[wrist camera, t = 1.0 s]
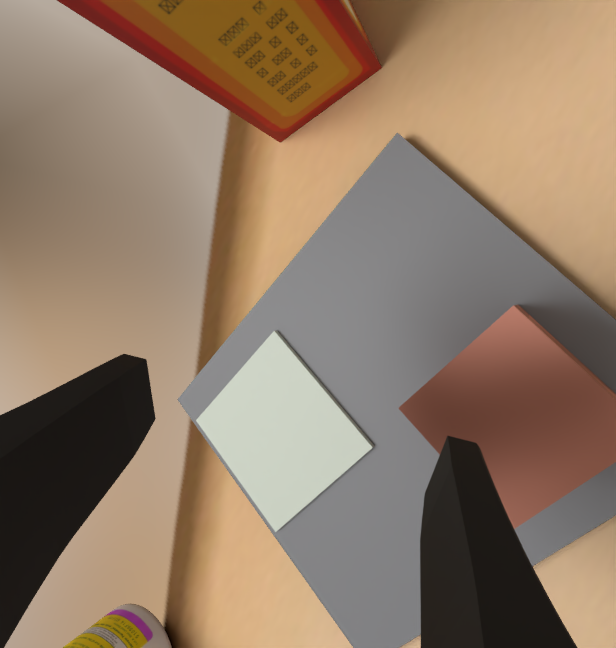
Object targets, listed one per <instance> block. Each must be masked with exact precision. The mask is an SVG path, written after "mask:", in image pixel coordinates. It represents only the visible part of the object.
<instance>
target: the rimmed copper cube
mask: <svg viewBox="0 0 616 648" xmlns="http://www.w3.org/2000/svg"><path fill="white" fill-rule="evenodd" d="M398 409H399V410H400V411H401V412H402V413H403V414H404V415H405V416H406V418H407V419H408V420H409V421H410V422H411V423H412V424H413V425H414V427H415V428H416V429H417V430H418V431H419V432H420V433H421V434H422V435H423V437H424V438H425V439H426V440H427V441H428V442H429V443H430V444H431V446H432V447H433V448H434V449H435V450H436V451H437V452H438V453H439V455H440V453H441V451H442V448H443V446H444V443H445V441H446V438H447V436H451V437H455V438H459V439H463V440H467V441H471V442H475V443H477V444H478V446H479V447H480V449H481V452H482V454H483V457H484V460H485V462H486V465H487V468H488V470H489V473H490V475H491V478H492V480H493V482H494V485H495V487H496V490H497V492H498V494H499V497H500V499H501V501H502V504H503V506H504V508H505V510H506V513H507V515H508V517H509V519H510V521H511V523H512V526H513V528H514V529H515V528H517V527H518V526H520V525H521V524H523V523H524V522H526V521H527V520H529V519H530V518H532V517H533V516H535V515H536V514H538V513H539V512H541V511H542V510H544V509H545V508H547V507H548V506H550V505H551V504H553V503H554V502H556V501H558V500H559V499H561V498H562V497H564V496H565V495H567V494H568V493H570V492H571V491H573V490H574V489H576V488H577V487H579V486H580V485H582V484H583V483H585V482H586V481H588V480H589V479H591V478H592V477H594V476H595V475H597V474H598V473H600V472H601V471H603V470H604V469H606V468H608V467H609V466H611V465H612V464H614V463H615V462H616V393H614V392H613V391H612V390H611V389H610V388H609V387H608V386H607V385H606V384H605V383H604V382H602V381H601V380H600V379H599V378H598V377H597V376H596V375H595V374H594V373H593V372H592V371H590V370H589V369H588V368H587V367H586V366H585V365H584V364H583V363H582V362H581V361H580V360H578V359H577V358H576V357H575V356H574V355H573V354H572V353H571V352H570V351H569V350H568V349H566V348H565V347H564V346H563V345H562V344H561V343H560V342H559V341H558V340H557V339H555V338H554V337H553V336H552V335H551V334H550V333H549V332H548V331H547V330H546V329H545V328H543V327H542V326H541V325H540V324H539V323H538V322H537V321H536V320H535V319H534V318H533V317H531V316H530V315H529V314H528V313H527V312H526V311H525V310H524V309H523V308H522V307H521V306H519V305H513V306H512V307H511V308H510V309H509V310H508V311H507V312H505V313H504V314H503V315H502V316H501V317H500V318H499V319H498V320H497V321H495V322H494V323H493V324H492V325H491V326H490V327H489V328H488V329H486V330H485V331H484V332H483V333H482V334H481V335H480V336H479V337H477V338H476V339H475V340H474V341H473V342H472V343H471V344H470V345H468V346H467V347H466V348H465V349H464V350H463V351H462V352H461V353H459V354H458V355H457V356H456V357H455V358H454V359H453V360H452V361H450V362H449V363H448V364H447V365H446V366H445V367H444V368H443V369H442V370H440V371H439V372H438V373H437V374H436V375H435V376H434V377H433V378H431V379H430V380H429V381H428V382H427V383H426V384H425V385H424V386H422V387H421V388H420V389H419V390H418V391H417V392H416V393H415V394H413V395H412V396H411V397H410V398H409V399H408V400H407V401H406V402H404V403H403V404H402V405H401V406H400V407H399V408H398Z"/></svg>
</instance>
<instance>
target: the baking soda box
mask: <svg viewBox="0 0 616 648" xmlns="http://www.w3.org/2000/svg"><path fill="white" fill-rule="evenodd" d="M57 1H59V2H60V3H62V4H64V5H65V6H67V7H68V8H70V9H71V10H73V11H75V12H76V13H78V14H79V15H81V16H82V17H84V18H86V19H87V20H89V21H90V22H92V23H93V24H95V25H96V26H98V27H100V28H101V29H103V30H104V31H106V32H107V33H109V34H111V35H112V36H114V37H115V38H117V39H118V40H120V41H122V42H123V43H125V44H126V45H128V46H129V47H131V48H133V49H134V50H136V51H137V52H139V53H141V54H142V55H144V56H145V57H147V58H148V59H150V60H152V61H153V62H155V63H156V64H158V65H159V66H161V67H162V68H164V69H166V70H167V71H169V72H170V73H172V74H173V75H175V76H177V77H178V78H180V79H181V80H183V81H184V82H186V83H188V84H189V85H191V86H192V87H194V88H195V89H197V90H199V91H200V92H202V93H203V94H205V95H207V96H208V97H210V98H211V99H213V100H214V101H216V102H218V103H219V104H221V105H222V106H224V107H225V108H227V109H228V110H230V111H231V112H233V113H235V114H236V115H238V116H239V117H241V118H242V119H244V120H246V121H247V122H249V123H250V124H252V125H253V126H255V127H257V128H258V129H260V130H261V131H263V132H264V133H266V134H268V135H269V136H271V137H272V138H274V139H275V140H277V141H279V142H282V141H283V140H284V139H286V138H287V137H288V136H290V135H291V134H292V133H294V132H295V131H297V130H298V129H299V128H301V127H302V126H303V125H305V124H306V123H307V122H309V121H310V120H312V119H313V118H314V117H316V116H317V115H318V114H320V113H321V112H322V111H324V110H325V109H327V108H328V107H329V106H331V105H332V104H333V103H335V102H336V101H337V100H339V99H340V98H342V97H343V96H344V95H346V94H347V93H348V92H350V91H351V90H352V89H354V88H355V87H357V86H358V85H359V84H361V83H362V82H363V81H365V80H366V79H367V78H369V77H370V76H372V75H373V74H374V73H376V72H377V71H378V70H380V69H381V68H382V67H381V65H380V63H379V61H378V58H377V56H376V54H375V52H374V50H373V48H372V46H371V44H370V41H369V39H368V37H367V35H366V33H365V31H364V29H363V27H362V24H361V22H360V20H359V18H358V16H357V14H356V12H355V9H354V7H353V5H352V3H351V1H350V0H57Z"/></svg>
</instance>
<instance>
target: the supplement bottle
mask: <svg viewBox="0 0 616 648" xmlns="http://www.w3.org/2000/svg"><path fill="white" fill-rule="evenodd" d="M63 648H172V647H171V644H170V641H169V638H168V636H167V634H166V631H165V630H164V628H163V626H162V625H161V623H160V622H159V620H158V619H157V618H156V617H155V616H154V615H153V614H152V613H151V612H150V611H148V610H147V609H145V608H144V607H141V606H139V605H135V604H125V605H122V606H119V607H117V608H116V609H114V610H113V611H112V612H110V613H109V614H107V615H106V616H104V617H103V618H102V619H100V620H99V621H98V622H97V623H95V624H94V625H92V626H91V627H90V628H88V629H87V630H86V631H84V632H83V633H82V634H81V635H79V636H78V637H76V638H75V639H74V640H72V641H71V642H70V643H68V644H67V645H66V646H64V647H63Z"/></svg>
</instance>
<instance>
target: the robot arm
mask: <svg viewBox="0 0 616 648" xmlns="http://www.w3.org/2000/svg"><path fill="white" fill-rule="evenodd" d="M154 421H155V413H154V407H153V400H152V394H151V387H150V381H149V374H148V367H147V361H146V359H143V358H139V357H134V356H131V355H127V354H123V355H120V356H118V357H116V358H114V359H112V360H110V361H108V362H106V363H104V364H102V365H100V366H98V367H96V368H94V369H92V370H90V371H88V372H87V373H84V374H83V375H81V376H79V377H77V378H75V379H73V380H71V381H69V382H67V383H66V384H63V385H61V386H59V387H57V388H56V389H54V390H52V391H50V392H48V393H46V394H44V395H42V396H40V397H38V398H36V399H34V400H32V401H30V402H28V403H26V404H24V405H21V406H19V407H17V408H15V409H13V410H11V411H9V412H7V413H5V414H2V415H0V648H4V647H5V644H6V643H7V641H8V640H9V638H10V636H11V635H12V633H13V631H14V630H15V628H16V626H17V625H18V623H19V621H20V619H21V618H22V616H23V614H24V613H25V611H26V609H27V608H28V606H29V604H30V603H31V601H32V599H33V598H34V596H35V594H36V593H37V591H38V590H39V588H40V586H41V585H42V583H43V581H44V580H45V578H46V577H47V575H48V574H49V572H50V570H51V569H52V567H53V566H54V564H55V562H56V561H57V559H58V558H59V556H60V555H61V553H62V552H63V550H64V549H65V547H66V546H67V545H68V543H69V542H70V540H71V539H72V538H73V536H74V535H75V534H76V532H77V531H78V530H79V528H80V527H81V526H82V524H83V523H84V522H85V520H86V519H87V518H88V516H89V515H90V514H91V512H92V511H93V510H94V509H95V507H96V506H97V505H98V503H99V502H100V501H101V499H102V498H103V497H104V495H105V494H106V493H107V491H108V490H109V489H110V488H111V486H112V485H113V484H114V482H115V481H116V480H117V478H118V477H119V476H120V474H121V473H122V472H123V470H124V469H125V468H126V466H127V465H128V464H129V462H130V461H131V459H132V458H133V457H134V455H135V454H136V452H137V450H138V449H139V447H140V445H141V443H142V442H143V440H144V439H145V437H146V435H147V433H148V431H149V430H150V427H151V426H152V424H153V422H154ZM420 598H421V648H577V646H576V645H575V643H574V641H573V640H572V638H571V636H570V635H569V633H568V631H567V629H566V628H565V626H564V624H563V622H562V621H561V619H560V617H559V615H558V613H557V612H556V610H555V608H554V606H553V605H552V603H551V601H550V599H549V597H548V595H547V593H546V591H545V590H544V588H543V586H542V584H541V582H540V580H539V578H538V576H537V575H536V573H535V571H534V569H533V567H532V565H531V563H530V561H529V559H528V557H527V555H526V553H525V551H524V549H523V547H522V544H521V542H520V540H519V538H518V536H517V534H516V532H515V530H514V528H513V526H512V523H511V521H510V519H509V517H508V515H507V513H506V510H505V508H504V506H503V504H502V501H501V499H500V497H499V494H498V492H497V490H496V487H495V485H494V482H493V480H492V478H491V475H490V473H489V470H488V468H487V465H486V462H485V460H484V457H483V454H482V452H481V449H480V447H479V446H478V444H477V443H475V442H471V441H467V440H463V439H459V438H455V437H451V436H447V438H446V441H445V443H444V446H443V448H442V451H441V453H440V456H439V459H438V461H437V464H436V466H435V469H434V471H433V474H432V476H431V479H430V481H429V484H428V487H427V489H426V492H425V496H424V505H423V515H422V525H421V535H420Z"/></svg>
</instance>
